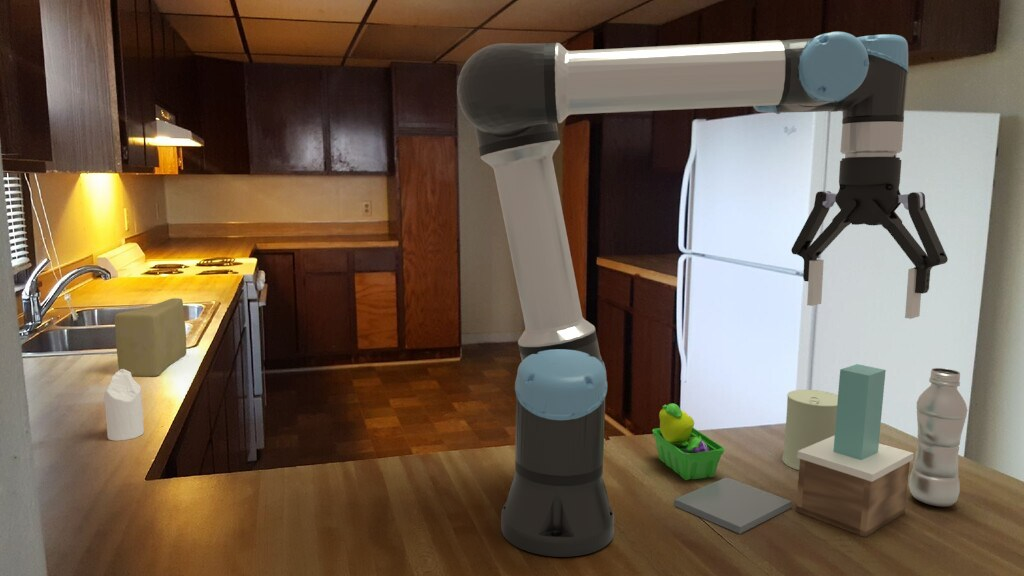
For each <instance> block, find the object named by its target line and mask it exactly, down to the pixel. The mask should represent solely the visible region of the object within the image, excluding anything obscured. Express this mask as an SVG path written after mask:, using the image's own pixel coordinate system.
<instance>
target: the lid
mask: <svg viewBox="0 0 1024 576" xmlns="http://www.w3.org/2000/svg"><path fill="white" fill-rule="evenodd" d="M886 372H887V371H886V369H882V368H878V367H873V366H870V365H869V366H867V365H865V364H857V363H856V364H854V365H850V366H846V367H844V368H841V369H839V379H838V391H837V393H838V394H837V395H838V402H837V414H836V426H835V435H834V436H832V437H830V438H827V439H825V440H822V441H820V442H818V443H815V444H813V445H811V446H808V447H806V448H804V449H801V450H799V451H798V452H797V458H799V459H802V460H806V461H809V462H812V463H815V464H818V465H821V466H824V467H827V468H831V469H834V470H837V471H840V472H843V473H846V474H849V475H852V476H856V477H859V478H862V479H865V480H868V481H871V482H873V481H874V480H876V479H878V478H880V477H882V476H884V475H886V474H887V473H889V472H891V471H893V470H895V469H897V468H899V467H900V466H902V465H904V464H906V463H908V462H911V461H913V460H914V457H915V455H914V454H915V453H914V452H912V451H907V450H905V449H901V448H897V447H894V446H890V445H886V444H883V443H880V436H881V435H880V434H881V423H882V414H883V413H882V412H883V401H884V393H885V391H884V390H885V381H886Z"/></svg>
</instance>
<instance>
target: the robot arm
mask: <svg viewBox="0 0 1024 576" xmlns="http://www.w3.org/2000/svg"><path fill="white" fill-rule="evenodd" d="M909 69H910V68H909V44H908V41H907V40H906V38H905V37H904V36H902V35H898V34H889V33H887V34H875V35H874V34H873V35H864V36H858V37H856V36H855V35H853V34H851V33H849V32H845V31H831V32H825V33H822V34H819V35H816V36H815V37H813V38H796V39H793V38H792V39H786V40H784V39H782V40H779V39H775V40H774V39H773V40H759V41H757V40H756V41H755V40H754V41H739V42H738V41H737V42H719V43H699V44H695V43H694V44H677V45H658V46H641V47H638V46H637V47H623V48H604V49H603V48H602V49H601V48H600V49H585V50H584V49H583V50H581V49H580V50H568V49H566V48H565V47H564V46H563V45H562V44H561V43H560V42H550V43H548V42H547V43H512V42H511V43H509V42H507V43H505V42H504V43H501V42H500V43H495V44H489V45H488V46H485V47H483V48H480V49H479V50H477V51H476V52H474V53H473V54H472V55H471V56H470V57H469V58H468V59H467V60H466V62H465V63H464V65H463V66H462V68H461V70H460V73H459V76H458V79H457V85H456V87H457V89H456V95H457V99H458V104H459V106H460V110H461V111H462V113H463V115H464V116H465V118H466V119H467V120H468V121H469V122H470V123H471V124H472V126H473V127H474V131H475V137H476V141H477V146H478V150H479V155H480V160H482V161H483V162H484V163H485V164H487V165H489V166H490V167H491V168H492V169H493V172H494V178H495V183H496V186H497V187H496V189H497V192H498V196H499V202H500V207H501V211H502V218H503V221H504V223H503V224H504V227H505V231H506V236H507V243H508V246H509V251H510V257H511V262H512V267H513V273H514V278H515V281H516V287H517V292H518V297H519V302H520V307H521V312H522V317H523V322H524V327H525V329H524V331H523V333H522V334H521V335H520V337H519V339H518V340H517V345H518V348H519V354H520V355H519V356H520V358H521V362H520V363H519V365H518V368H517V371H516V373H517V374H516V378H515V382H514V392H515V397H516V399H515V400H516V403H515V404H516V407H515V409H516V410H515V413H516V414H515V446H514V447H515V449H514V450H515V451H514V453H515V454H514V455H515V457H514V458H515V459H514V461H515V462H514V466H515V467H514V475H513V479H512V481H511V483H510V488H509V491H508V494H507V495H508V496H507V499H506V501H505V503H504V504H503V506H502V510H501V512H500V513H501V514H500V531H501V534H502V536H503V537H504V539H505V540H506V541H507V542H508V543H510V544H511V545H513V546H514V547H516V548H518V549H520V550H522V551H526V552H528V553H531V554H535V555H540V556H547V557H555V558H557V557H558V558H569V557H571V558H572V557H579V556H585V555H589V554H592V553H596V552H597V551H600V550H602V549H604V548H606V547H607V546H608V545H609V544H610V543H611V541H612V540H613V539H614V535H615V515H614V512H613V509H612V507H611V506H610V499H609V495H608V492H607V487H606V484H605V481H604V474H603V473H604V472H603V471H604V450H605V449H604V445H605V424H606V423H605V422H606V421H605V418H606V397H607V393H608V380H607V370H606V366H605V362H604V361H603V359H602V356H601V353H600V347H599V346H600V345H599V342H598V336H597V331H596V327H595V325H594V324H592V323H591V322H589V321H588V320H586V319H585V318H584V317H583V313H582V308H581V303H580V297H579V292H578V287H577V281H576V276H575V275H576V274H575V271H574V265H573V259H572V256H571V250H570V244H569V239H568V235H567V234H568V233H567V229H566V223H565V219H564V213H563V208H562V202H561V196H560V192H559V186H558V181H557V177H556V171H555V170H556V169H555V166H554V160H553V156H554V154H555V152H556V150H557V149H558V147H559V146H560V144H561V140H560V136H559V130H558V126H557V125H558V124H562V123H563V122H564V120H566V119H567V117H568V116H571V115H585V114H588V115H589V114H603V113H605V114H608V113H609V114H610V113H631V112H633V113H634V112H649V111H650V112H653V111H672V110H695V109H696V110H697V109H716V108H717V109H718V108H719V109H720V108H721V109H722V108H740V107H753V109H754V110H755V111H756V112H759V113H774V114H776V115H780V114H781V113H783V114H784V113H787V114H788V113H812V112H815V113H816V112H817V113H818V112H831V113H832V112H833V113H834V112H836V113H837V112H842V121H841V124H842V126H841V127H842V130H841V139H840V153H841V154H842V155H844V156H845V157H843V158H841V160H839V174H838V175H839V176H838V184H839V189H838V192H837V193H833V192H831V191H829V190H827V191H824V190H822V191H817V192H816V194H815V199H814V203H813V208H812V210H811V212H810V214H809V216H808V217H807V218H806V221H805V223H804V225H803V226H802V228H801V230H800V232H799V234H798V236H797V238H796V239H795V241H794V243H793V245H792V246H791V253H792V254H793V255H797V256H799V257H801V258H802V259H803V275H802V277H803V281H804V282H808V283H807V303H806V306H811V307H812V306H817V305H821V304H822V294H823V279H824V278H823V276H824V260H825V259H821V258H820V256H821V254H822V253H824V251H826V249H827V248H828V247H829V246H830V245H831V244H832V242H834V240H835V239H836V238H837V237H838V236H839V235H840V234H841V233H842V232H843V231H844V230H845V229H846V228H847V227H848V226H849V225H856V226H857V225H858V226H859V225H866V226H881V227H883V229H885V230H886V231H888V233H889V234H890V236H891V237H892V238H893V239H894V241H895V242H896V243H897V244H898V246H899V247H900V249H901V250H902V251H903V253H904V254H905V255H906V257H907V258H908V259H909V260H910V262H911V263H912V264H913V265H914V267H913V268H912V267H911V268H908V271H907V273H908V274H907V285H906V299H905V313H904V314H905V315H904V319H909V320H912V319H915V318H918V317H920V312H921V297H922V294H926V293H928V291H929V289H930V281H931V270H932V268H933V267H936V266H939V265H944V264H946V263H947V262H948V255H947V253H946V252H945V250H944V247H943V244H942V243H941V240H940V238H939V236H938V234H937V232H936V230H935V227H934V225H933V222H932V220H931V218H930V216H929V214H928V211H927V209H926V208H927V207H926V195H925V193H924V192H921V191H918V192H917V191H916V192H914V191H913V192H910V193H907V194H906V193H905V194H901V192H900V183H901V171H902V170H901V169H902V159H901V158H900V157H898V156H897V154H900V153H901V152H902V150H903V139H904V124H905V122H904V121H905V106H906V95H907V85H908V84H907V83H908V75H909ZM835 203H836V205H837V206H838V208H839V210H840V211H839V212H838V213H837V214H836V215H835V216H834V217H833V218H832V219H831V222H830V223H829V224H828V225H827V227H826V228H825V229H824V230H823V231H822V232H821V233H820V235H818V237H816V236H817V234H818V231H819V229H820V228H821V226H822V224H823V223H824V221H825V219H826V217H827V215H828V214H829V211H830V209H831V208H832V207H833V206H834V205H835ZM901 204H902V205H903V207H904V209H905V210H907V211H908V213H909V216H910V219H911V221H912V223H913V226H914V228H915V231H916V233H917V235H918V237H919V240H920V242H921V244H922V246H923V248H924V249H923V248H922V246H921V245H920V244H919V243H918V241H917V240H916V239H915V238H914V236H913V235H912V234H911V232H910V231H909V230H908V228H907V227H906V226H905V225H904V224H903V220H902V219H901V217H900V216H899V215H898V214H897V212H896V210H897V209H898V208H899V206H900V205H901ZM815 237H816V239H815ZM814 239H815V240H814Z"/></svg>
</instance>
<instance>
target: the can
mask: <svg viewBox="0 0 1024 576" xmlns="http://www.w3.org/2000/svg"><path fill="white" fill-rule="evenodd" d="M786 396H787V397H786V399H787V404H786V417H785V420H786V421H785V431H784V432H785V435H784V447H783V454H782V458H781V459H782V462H783V464H785V465H786V466H788V467H789V468H790V469H794V470H797V471H799V466H800V459H799V458H797V452H798V451H799V450H801V449H804V448H806V447H808V446H811V445H813V444H815V443H818V442H820V441H822V440H825V439H827V438H830V437H832V436H834V435H835V426H836V414H837V402H838V394H836V393H833V392H829V391H828V392H827V391H824V390H818V389H817V390H815V389H795V390H791V391H789V392H787V395H786Z"/></svg>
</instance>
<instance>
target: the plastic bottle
mask: <svg viewBox="0 0 1024 576" xmlns="http://www.w3.org/2000/svg"><path fill="white" fill-rule="evenodd" d="M960 379H961V372H960V371H957V370H955V369H950V368H943V367H935V368H931V370H930V377H929V378H928V380H929V381H928V382H929V383H931V384H930V385H929V386H928V387H927V388H926V389H925V390H924V391H923V392H922V393H921V394H920V395H919V397H918V399H917V401H916V419H917V422H916V423H917V440H916V441H917V442H916V443H917V444H916V446H917V447H916V451H915V455H914V461H913V466H912V469H911V471H910V475H909V477H908V487H909V491H910V494H911V495H912V496H913V498H914V499H915V500H918V502H921V503H924V504H927V505H930V506H934V507H942V508H943V507H944V508H945V507H951V506H953V505H954V504H955V503H957V501H958V498H959V495H960V493H961V490H960V478H959V477H960V476H959V450H960V447H959V446H960V444H961V438H962V433H963V430H964V426H965V422H966V418H967V415H968V407H967V406H968V405H967V403H966V401H965V400H964V397H963V395H962V394H961V393H960V391H959V390H958V387H960V386H961V385H960V384H961V382H960Z"/></svg>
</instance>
